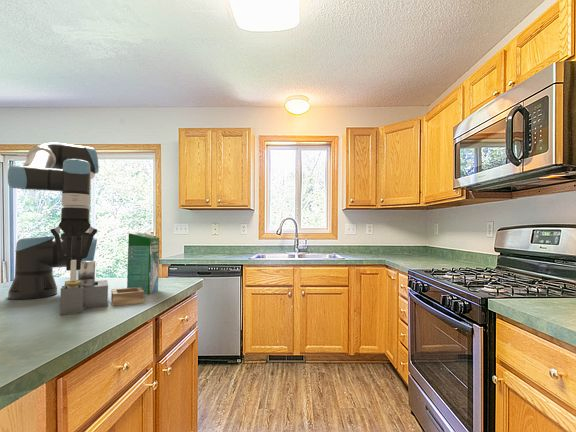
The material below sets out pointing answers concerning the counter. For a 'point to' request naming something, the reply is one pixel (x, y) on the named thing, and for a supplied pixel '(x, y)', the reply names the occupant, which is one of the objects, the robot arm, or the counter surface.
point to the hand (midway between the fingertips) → (73, 280)
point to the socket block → (83, 297)
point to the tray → (127, 296)
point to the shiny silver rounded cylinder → (87, 273)
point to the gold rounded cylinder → (73, 283)
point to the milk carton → (143, 262)
